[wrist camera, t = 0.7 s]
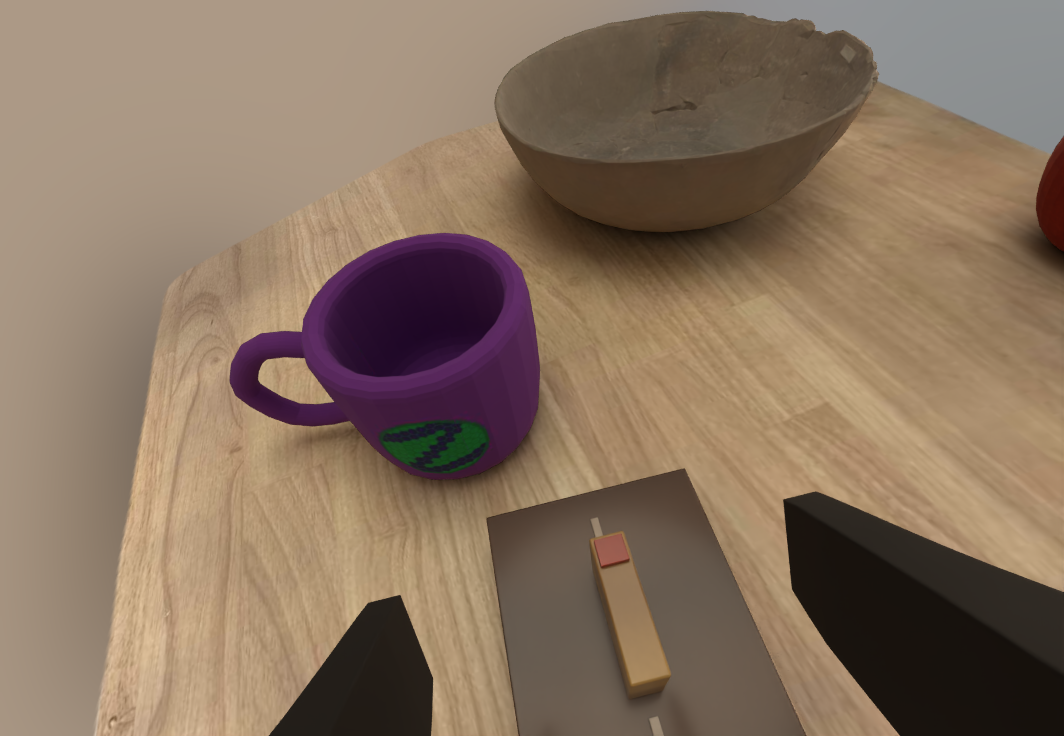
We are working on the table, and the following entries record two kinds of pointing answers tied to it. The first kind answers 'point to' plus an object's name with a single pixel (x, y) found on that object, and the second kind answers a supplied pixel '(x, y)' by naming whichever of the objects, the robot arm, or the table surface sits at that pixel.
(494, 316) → the mug
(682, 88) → the bowl
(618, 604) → the block with red patch
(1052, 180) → the apple
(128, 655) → the table surface
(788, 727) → the lock plate
